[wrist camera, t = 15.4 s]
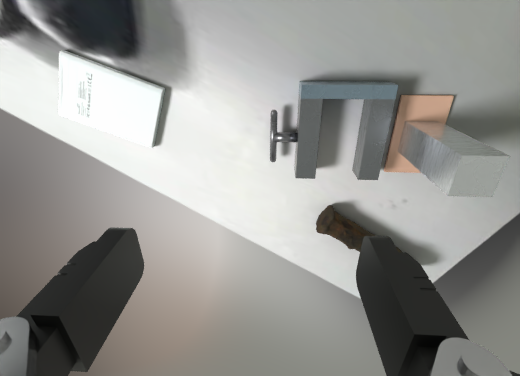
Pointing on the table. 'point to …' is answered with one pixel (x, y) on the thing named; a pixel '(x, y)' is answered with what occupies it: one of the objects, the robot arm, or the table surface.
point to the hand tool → (342, 229)
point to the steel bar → (452, 159)
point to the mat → (414, 111)
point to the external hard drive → (109, 99)
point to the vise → (309, 119)
